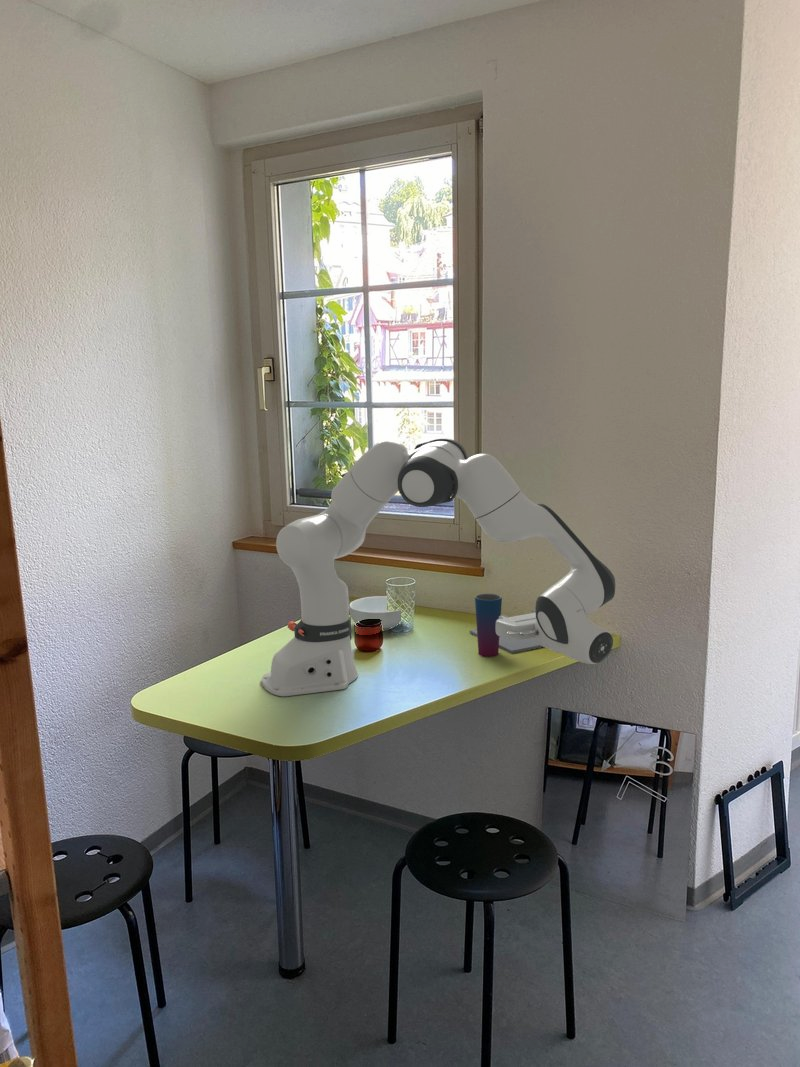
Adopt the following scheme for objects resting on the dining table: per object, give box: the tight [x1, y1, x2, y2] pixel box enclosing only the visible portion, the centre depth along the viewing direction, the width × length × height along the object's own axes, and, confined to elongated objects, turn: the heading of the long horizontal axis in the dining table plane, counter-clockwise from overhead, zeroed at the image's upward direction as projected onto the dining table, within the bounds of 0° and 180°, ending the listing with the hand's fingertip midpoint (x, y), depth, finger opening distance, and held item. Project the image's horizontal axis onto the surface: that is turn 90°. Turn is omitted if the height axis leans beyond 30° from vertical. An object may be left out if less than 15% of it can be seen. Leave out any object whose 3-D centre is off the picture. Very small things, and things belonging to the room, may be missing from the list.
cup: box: [474, 592, 503, 658], centre depth 202 cm, size 7×7×15 cm
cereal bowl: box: [349, 595, 401, 632], centre depth 228 cm, size 17×17×7 cm
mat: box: [469, 628, 544, 654], centre depth 215 cm, size 12×20×1 cm, turn 27°
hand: (517, 615), depth 191 cm, fingers open, 8 cm apart
